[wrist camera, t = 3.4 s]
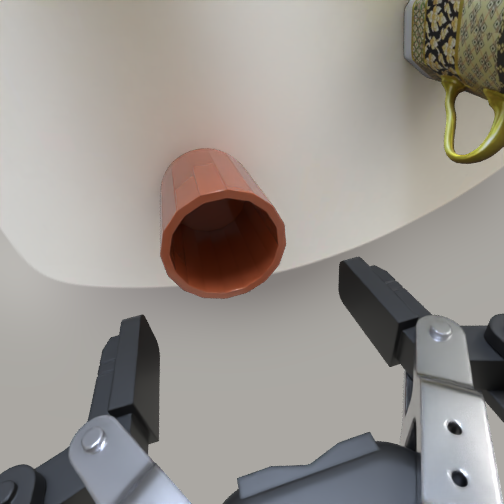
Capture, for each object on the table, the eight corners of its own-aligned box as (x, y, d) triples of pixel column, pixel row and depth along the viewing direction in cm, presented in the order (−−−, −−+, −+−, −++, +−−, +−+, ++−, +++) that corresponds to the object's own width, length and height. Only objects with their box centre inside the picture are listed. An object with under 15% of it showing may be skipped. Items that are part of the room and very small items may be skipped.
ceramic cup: (459, -148, 16) (777, -365, 8) (540, -18, 20) (797, -69, 12) (322, 99, 21) (429, 126, 13) (412, 160, 25) (534, 209, 17)
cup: (175, 241, 24) (181, 311, 17) (147, 159, 20) (142, 208, 13) (254, 221, 24) (289, 281, 18) (242, 139, 21) (280, 176, 14)
